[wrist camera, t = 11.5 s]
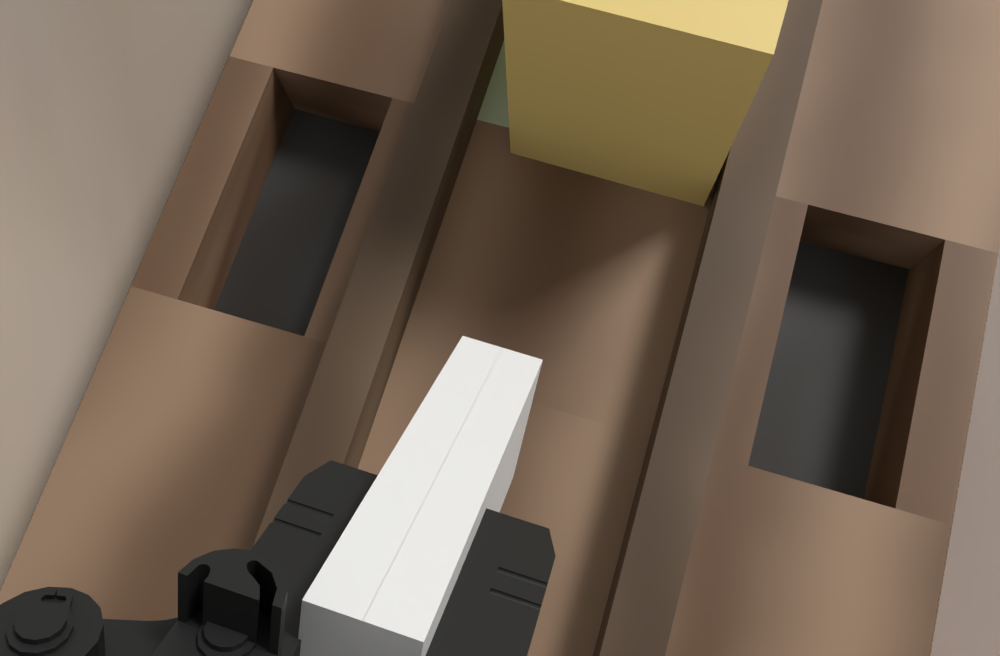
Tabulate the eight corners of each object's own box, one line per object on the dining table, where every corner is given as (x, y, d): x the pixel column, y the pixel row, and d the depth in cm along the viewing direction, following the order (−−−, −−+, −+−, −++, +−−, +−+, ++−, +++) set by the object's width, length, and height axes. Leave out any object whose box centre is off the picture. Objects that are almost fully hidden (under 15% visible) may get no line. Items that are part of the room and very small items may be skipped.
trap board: (1007, -25, 31) (1089, -128, 27) (826, 973, 24) (897, 1071, 19) (369, -167, 34) (343, -282, 30) (16, 688, 26) (-94, 713, 22)
